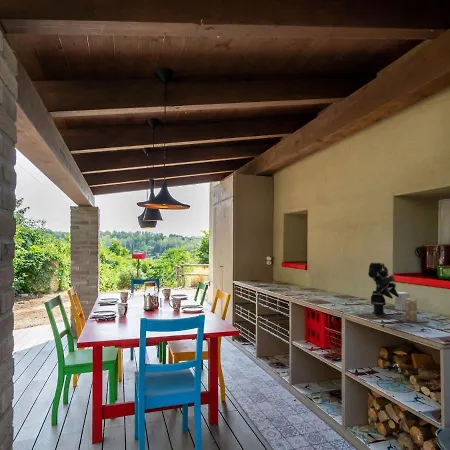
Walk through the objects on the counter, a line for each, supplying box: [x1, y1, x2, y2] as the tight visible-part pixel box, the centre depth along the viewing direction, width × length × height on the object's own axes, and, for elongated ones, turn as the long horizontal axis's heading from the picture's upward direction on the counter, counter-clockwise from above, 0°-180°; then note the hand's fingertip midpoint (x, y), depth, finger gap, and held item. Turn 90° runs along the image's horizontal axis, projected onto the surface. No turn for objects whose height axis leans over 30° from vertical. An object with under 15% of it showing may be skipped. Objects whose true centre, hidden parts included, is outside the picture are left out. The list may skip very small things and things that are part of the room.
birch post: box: [405, 298, 418, 321], centre depth 233 cm, size 5×5×13 cm
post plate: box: [394, 316, 430, 325], centre depth 232 cm, size 14×14×4 cm
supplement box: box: [394, 291, 411, 312], centre depth 268 cm, size 7×7×13 cm
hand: (395, 297), depth 240 cm, fingers open, 9 cm apart
